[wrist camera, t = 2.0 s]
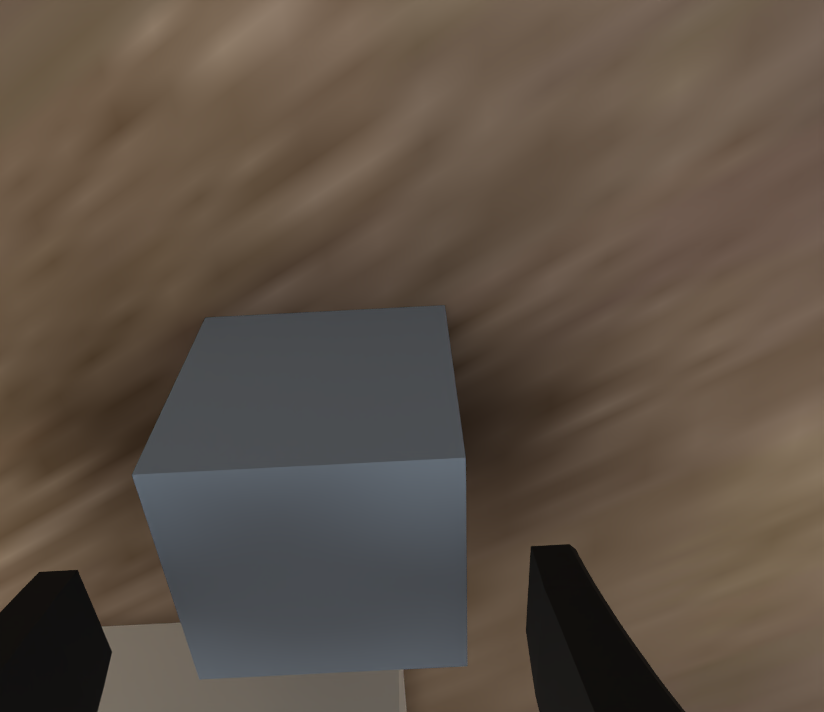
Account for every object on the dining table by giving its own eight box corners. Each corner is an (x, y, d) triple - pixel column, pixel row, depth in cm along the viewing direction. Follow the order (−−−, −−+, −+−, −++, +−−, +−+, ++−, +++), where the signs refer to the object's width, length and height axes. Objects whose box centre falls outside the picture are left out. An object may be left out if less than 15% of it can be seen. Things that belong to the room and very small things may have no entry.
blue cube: (449, 484, 18) (467, 666, 13) (245, 494, 18) (199, 679, 13) (444, 303, 15) (465, 457, 11) (206, 315, 15) (131, 474, 11)
